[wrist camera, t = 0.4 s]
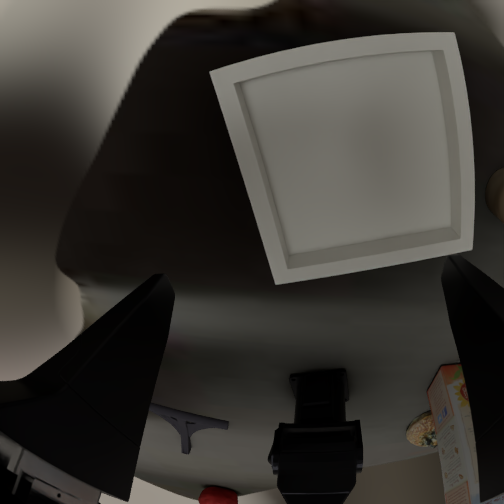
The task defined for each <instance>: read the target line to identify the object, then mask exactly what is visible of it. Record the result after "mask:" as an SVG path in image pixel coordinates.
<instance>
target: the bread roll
mask: <svg viewBox="0 0 504 504" xmlns="http://www.w3.org/2000/svg"><path fill="white" fill-rule="evenodd" d="M406 435H407V439H408V440H409V441H410V443H413V444H415V445H417V446H425V447H427V446H430V447H431V448H435V447H436V446H437V445H438V443H437V438H436V433H435V428H434V423H433V418H432V413H431V411H429V412H426V413H423V414H422V415H420V416H419V417H417V418H415V419H414V420H413V421H412V423H411V424H410V426H409V428H408V430H407V433H406Z"/></svg>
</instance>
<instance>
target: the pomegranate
mask: <svg viewBox="0 0 504 504" xmlns="http://www.w3.org/2000/svg"><path fill="white" fill-rule="evenodd" d="M198 501H199V503H200V504H238V497H237V494H236V493H235V492H234V491H232V490H229V489H226V488H221V487H216V486H212V487H207V488H206V489H204V490H203V491H202V492H201V494H200V497H199V499H198Z"/></svg>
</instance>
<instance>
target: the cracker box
mask: <svg viewBox="0 0 504 504" xmlns="http://www.w3.org/2000/svg"><path fill="white" fill-rule="evenodd" d="M427 395H428V399H429V403H430V408H431V413H432V418H433V423H434V428H435V433H436V438H437V443H438V449H439V454H440V461H441V468H442V475H443V482H444V491H445V500H446V504H504V495H501V496H499V497H496V498H494V499H491V500H488V501H485V502H483V503H480V495H479V476H478V464H477V454H476V445H475V443H476V442H475V436H474V429H473V422H472V416H471V410H470V405H469V399H468V394H467V389H466V384H465V380H464V375H463V371H462V367H461V364H456V365H446V366H441V368H440V369H439V371H438V373H437V375H436V377H435V379H434V380H433V382H432V384H431V386H430V387H429V389H428V391H427Z"/></svg>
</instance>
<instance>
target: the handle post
mask: <svg viewBox="0 0 504 504" xmlns="http://www.w3.org/2000/svg"><path fill="white" fill-rule="evenodd" d="M485 199H486V204H487V206H488V208H489V210H490V211H491V212H492V213H493V214H494V215H495V216H496V217H497V218H498V219H500V220H501V221H502V222H503V223H504V168H501V169H499V170H497V171H496V172H495V173H494V174H493V175H492V176H491V178H490V179H489V181H488V184H487V187H486V192H485Z"/></svg>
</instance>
